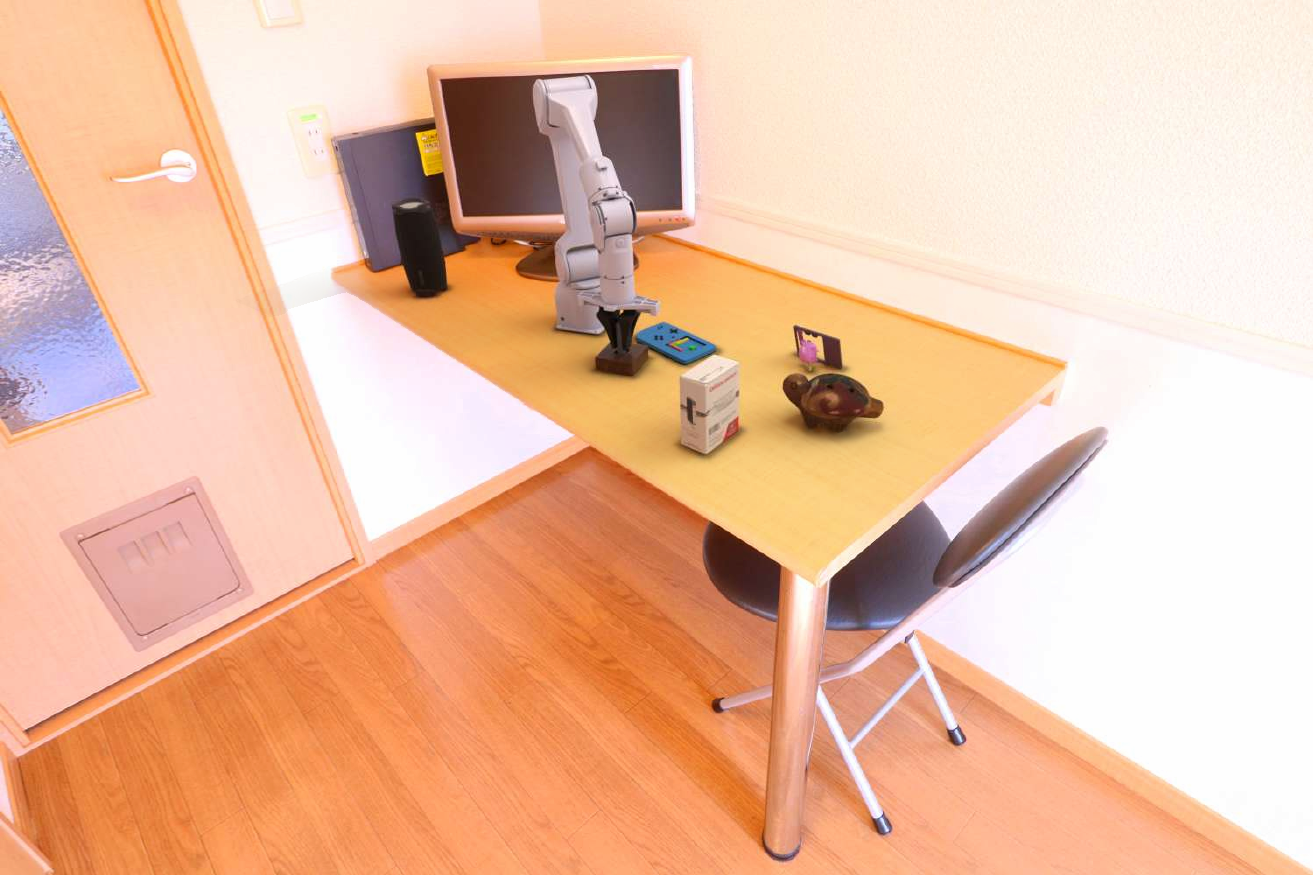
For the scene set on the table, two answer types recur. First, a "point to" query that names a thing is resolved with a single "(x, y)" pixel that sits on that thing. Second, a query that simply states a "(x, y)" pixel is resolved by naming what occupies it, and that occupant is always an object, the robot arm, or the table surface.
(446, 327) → the table surface
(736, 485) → the table surface
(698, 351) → the handheld gaming device
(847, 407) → the decorative turtle
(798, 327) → the purple frame with figurine
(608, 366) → the brown block with hole
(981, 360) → the table surface
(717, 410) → the ink box
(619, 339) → the dark grey cylinder rod
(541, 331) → the table surface
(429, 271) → the portable speaker
